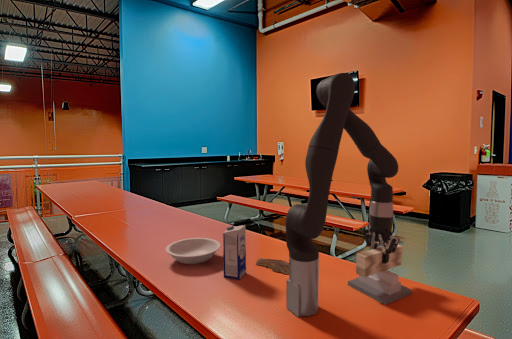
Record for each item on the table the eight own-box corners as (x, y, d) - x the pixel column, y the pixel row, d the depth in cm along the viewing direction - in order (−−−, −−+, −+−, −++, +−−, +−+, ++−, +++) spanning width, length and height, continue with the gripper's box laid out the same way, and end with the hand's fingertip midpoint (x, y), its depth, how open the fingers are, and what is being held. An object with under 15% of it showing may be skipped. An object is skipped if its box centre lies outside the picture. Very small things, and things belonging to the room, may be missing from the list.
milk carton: (239, 280, 118) (238, 229, 116) (223, 277, 121) (222, 227, 119) (246, 272, 125) (245, 224, 123) (231, 270, 127) (230, 223, 125)
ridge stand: (385, 304, 100) (386, 282, 99) (347, 284, 114) (348, 265, 113) (411, 293, 107) (412, 273, 106) (373, 276, 121) (374, 257, 120)
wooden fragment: (249, 263, 135) (249, 260, 135) (266, 256, 143) (266, 254, 143) (298, 281, 118) (298, 278, 118) (313, 272, 126) (313, 269, 126)
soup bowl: (195, 247, 155) (194, 234, 154) (232, 257, 141) (231, 243, 140) (154, 263, 135) (154, 248, 135) (192, 277, 122) (192, 261, 121)
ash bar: (364, 277, 103) (365, 257, 103) (356, 273, 107) (356, 253, 106) (401, 264, 113) (402, 246, 113) (393, 261, 117) (393, 243, 116)
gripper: (357, 211, 112) (356, 256, 114) (392, 219, 100) (390, 270, 102) (371, 208, 116) (370, 252, 118) (406, 216, 104) (404, 265, 105)
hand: (379, 260), depth 110 cm, fingers closed on ash bar, 3 cm apart
